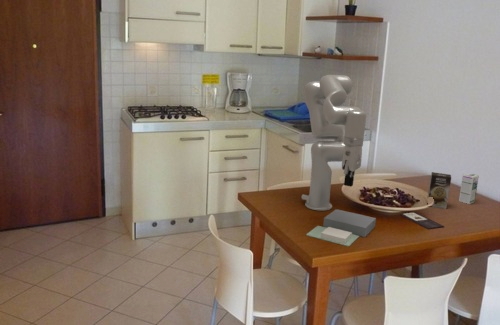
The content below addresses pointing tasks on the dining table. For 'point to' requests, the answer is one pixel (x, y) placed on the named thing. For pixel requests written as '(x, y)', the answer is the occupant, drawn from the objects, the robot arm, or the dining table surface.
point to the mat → (317, 234)
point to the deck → (350, 222)
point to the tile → (336, 235)
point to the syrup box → (468, 188)
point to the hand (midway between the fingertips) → (348, 185)
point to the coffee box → (439, 189)
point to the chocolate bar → (422, 220)
